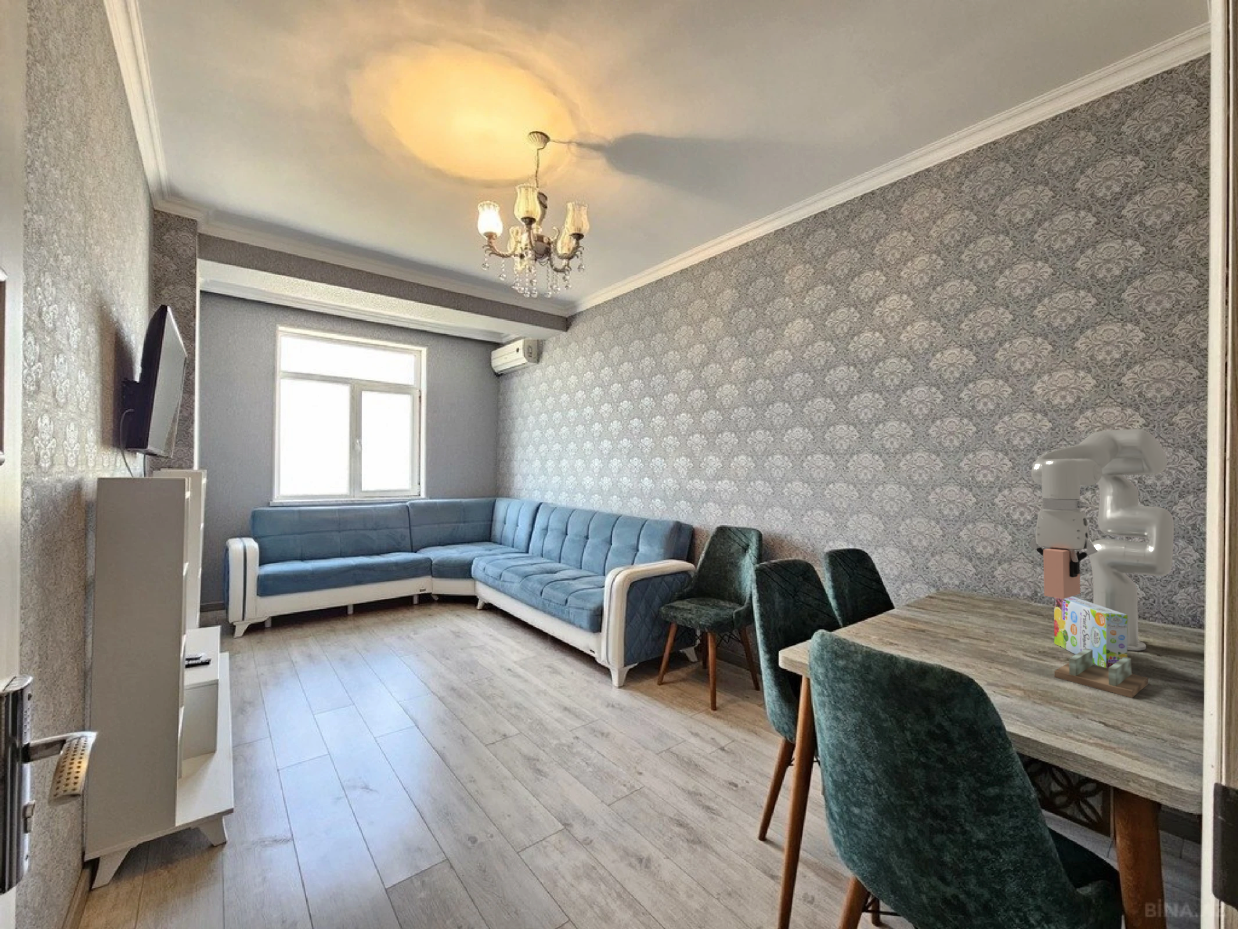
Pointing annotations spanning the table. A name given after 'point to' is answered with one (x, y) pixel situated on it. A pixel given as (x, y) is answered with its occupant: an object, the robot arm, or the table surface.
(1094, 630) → the snack box
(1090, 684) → the shelf board
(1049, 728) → the table surface
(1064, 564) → the tall pink block
